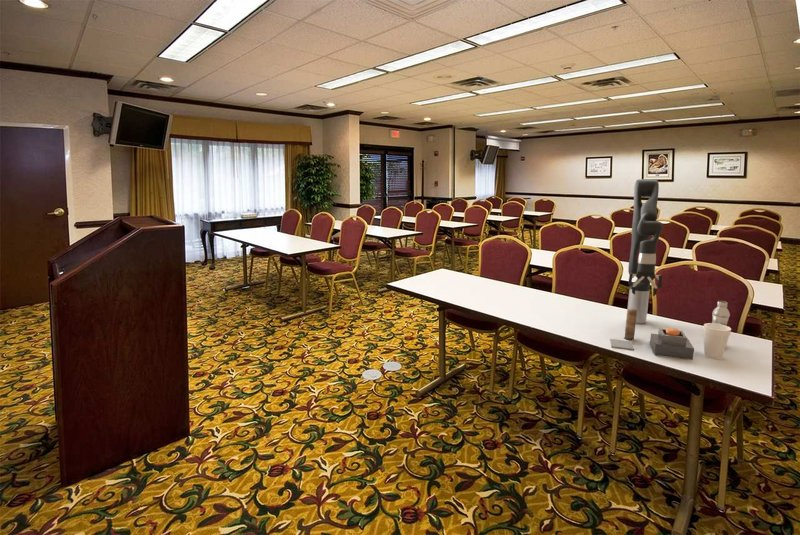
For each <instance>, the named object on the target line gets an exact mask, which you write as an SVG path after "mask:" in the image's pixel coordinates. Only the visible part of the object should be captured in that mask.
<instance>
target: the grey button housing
mask: <svg viewBox="0 0 800 535" xmlns="http://www.w3.org/2000/svg"><path fill="white" fill-rule="evenodd" d="M666 329H667V328H658V333H653V332H651V333H650V336H649V337H650V339H649V345H651V346H650V348H651V351H652V353H653V355H654V356H657V355H658V356H659V357H665V356H666V357H667V358H675V359H681V360H692V361H693V360H694V353H695V348H694V346H693V345H692V343H691V342H690V340H689V338H688V337H687V335H686V334H685V332H684V331H683V330H679V331H680V333H679V336H673V335H666Z"/></svg>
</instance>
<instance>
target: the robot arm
mask: <svg viewBox="0 0 800 535" xmlns="http://www.w3.org/2000/svg"><path fill="white" fill-rule="evenodd" d="M659 184H660V183H659V180H658V179H653V178H652V179H651V178H649V179H648V178H647V179H645V178H644V179H643V178H642V179H636V180H635V182H634V186H633V215H632V224H631V241H630V242H631V245H630V253H629V261H628V267H627V268H628V270H627V272H628V275H629V277H628V281H627V284H628V286H629V292H628V300H627V301H628V302H627V309H635V310H637V317H636V324H641V325H642V324H646V323H647V316H648V308H649V300H650V299H649V298H650V290H651V285H652V286H653V290H652V297H655V296H656V295H657V294H658V289H660V288H662V286H663V285H662V284H663V276H662V274H655V272H656V264H657V256H656V255H657V247H658V246H657V245H658V241H659V238H660V235H661V234H662V231H663V223H662V222H661V221H658V209H657V206H658V200H659V190H660V186H659ZM642 198H648V199H647V200H646V201H645V202H644V203H643V202H642ZM637 256H638V258H637ZM635 277H636V278H637V279H636V280H635V281H633V279H634V278H635ZM655 278H656V279H657V280H658V281H657V283H658V284H656V283H655V281H654V280H655ZM632 281H633V282H632ZM626 319H627V317H626Z"/></svg>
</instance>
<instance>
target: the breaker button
mask: <svg viewBox="0 0 800 535" xmlns="http://www.w3.org/2000/svg"><path fill="white" fill-rule="evenodd" d="M665 329H666V335H673V336H679V333H680V331H681V330H679V329H678V328H674V327H672V328H670V327H668V328H667V327H666V328H665Z"/></svg>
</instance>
